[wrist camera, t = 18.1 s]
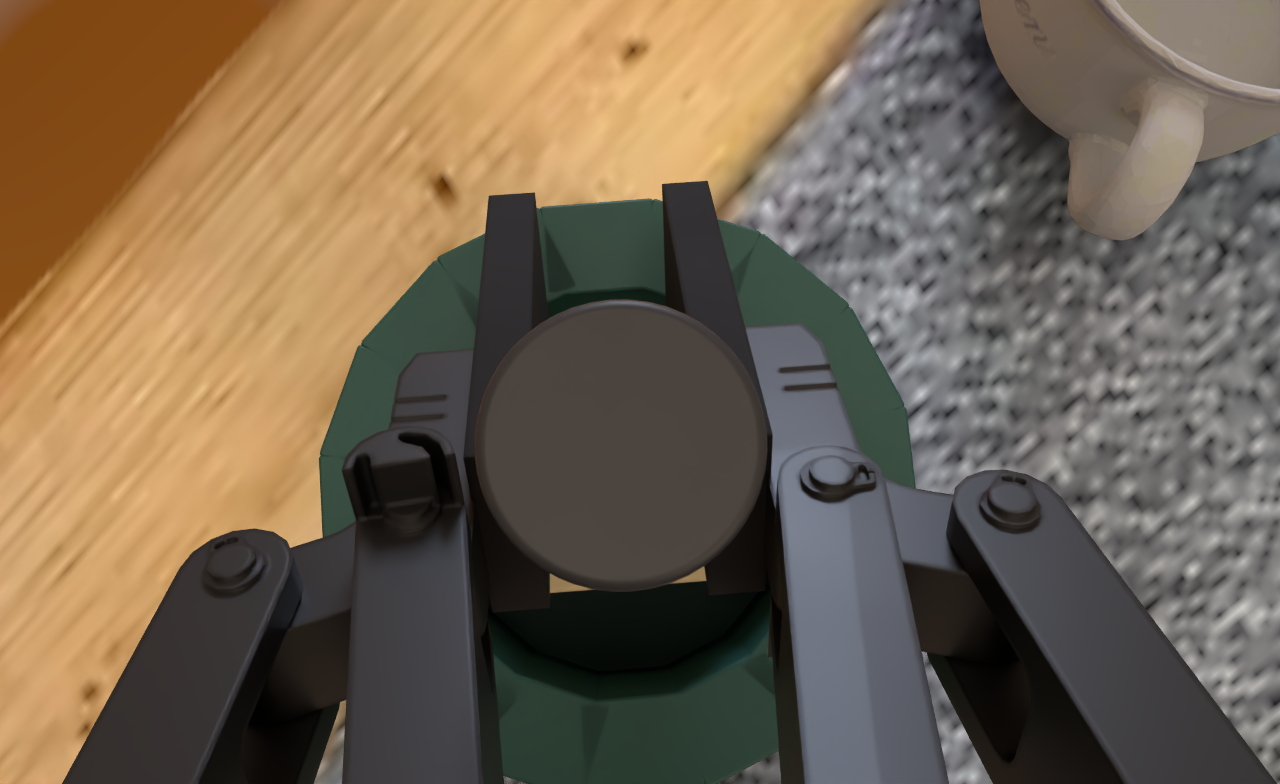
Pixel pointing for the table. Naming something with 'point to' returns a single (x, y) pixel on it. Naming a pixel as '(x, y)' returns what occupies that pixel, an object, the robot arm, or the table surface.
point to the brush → (620, 446)
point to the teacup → (1140, 92)
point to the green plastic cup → (640, 620)
